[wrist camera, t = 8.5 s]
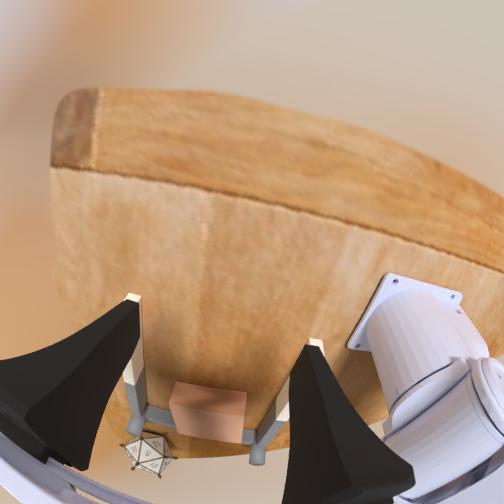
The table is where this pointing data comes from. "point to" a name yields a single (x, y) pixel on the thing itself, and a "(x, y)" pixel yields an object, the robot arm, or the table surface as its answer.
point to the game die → (149, 452)
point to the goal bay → (164, 417)
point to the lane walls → (137, 365)
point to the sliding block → (208, 412)
